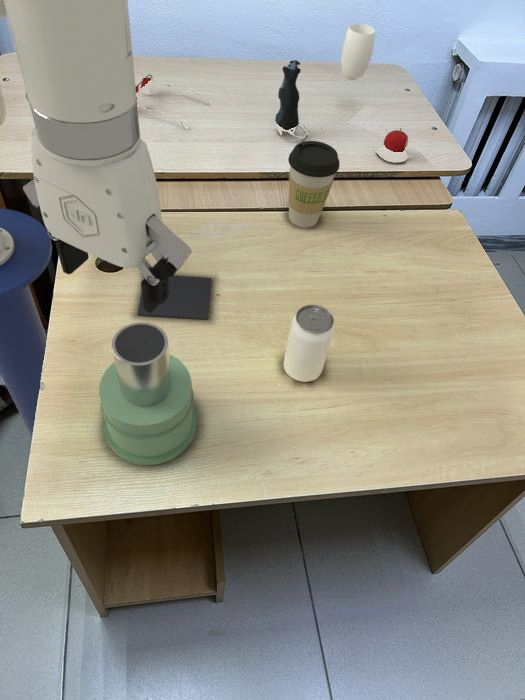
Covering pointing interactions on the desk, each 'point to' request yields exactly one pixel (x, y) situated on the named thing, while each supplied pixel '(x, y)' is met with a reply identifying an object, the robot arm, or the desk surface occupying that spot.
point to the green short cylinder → (149, 419)
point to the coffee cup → (310, 180)
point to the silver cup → (142, 363)
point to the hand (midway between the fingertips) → (115, 284)
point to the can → (308, 342)
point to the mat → (183, 299)
